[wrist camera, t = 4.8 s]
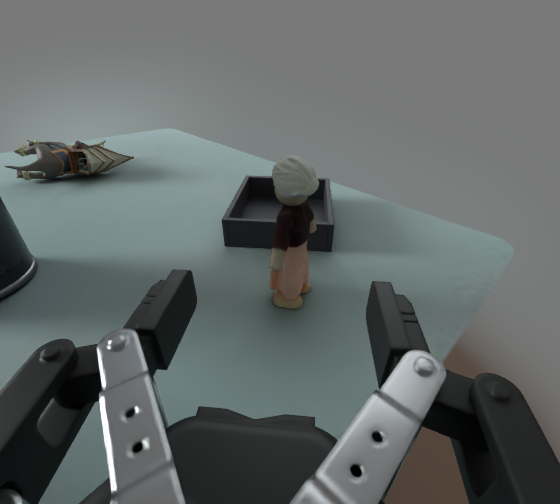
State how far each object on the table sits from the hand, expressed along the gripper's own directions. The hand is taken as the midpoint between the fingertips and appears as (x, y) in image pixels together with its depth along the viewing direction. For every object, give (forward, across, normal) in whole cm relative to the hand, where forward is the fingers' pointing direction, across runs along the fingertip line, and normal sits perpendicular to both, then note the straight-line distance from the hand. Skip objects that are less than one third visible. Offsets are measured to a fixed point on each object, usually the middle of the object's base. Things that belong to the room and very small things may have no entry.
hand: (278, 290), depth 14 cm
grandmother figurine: (+11, 0, +10) cm, 15 cm away
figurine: (+41, +40, +10) cm, 58 cm away
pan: (+26, +2, +10) cm, 28 cm away
